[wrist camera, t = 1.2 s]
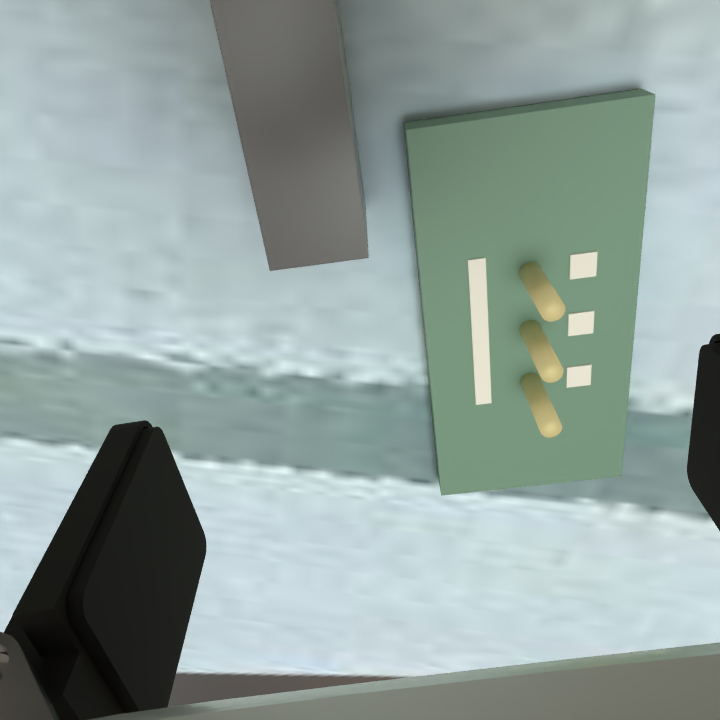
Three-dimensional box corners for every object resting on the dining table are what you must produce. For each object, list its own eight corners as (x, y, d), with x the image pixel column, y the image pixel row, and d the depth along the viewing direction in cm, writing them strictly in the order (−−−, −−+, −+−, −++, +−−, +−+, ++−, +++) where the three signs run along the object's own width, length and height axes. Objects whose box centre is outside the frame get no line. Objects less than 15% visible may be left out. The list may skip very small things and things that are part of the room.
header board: (403, 122, 28) (414, 153, 23) (640, 88, 27) (701, 112, 23) (438, 477, 38) (450, 549, 33) (612, 458, 38) (649, 528, 33)
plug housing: (225, -62, 25) (191, -71, 19) (328, -78, 24) (321, -92, 19) (282, 219, 30) (268, 272, 25) (366, 208, 30) (369, 258, 25)
